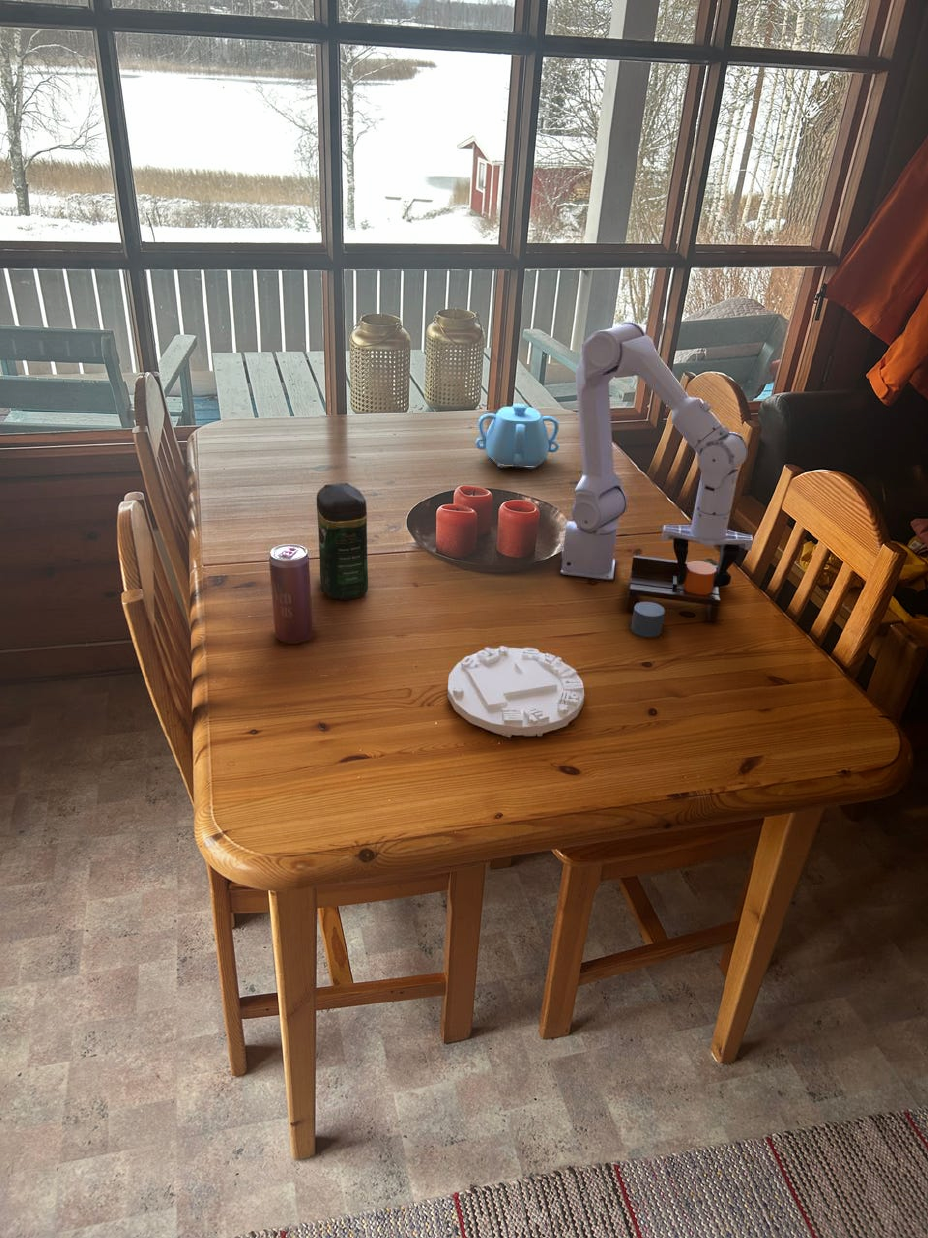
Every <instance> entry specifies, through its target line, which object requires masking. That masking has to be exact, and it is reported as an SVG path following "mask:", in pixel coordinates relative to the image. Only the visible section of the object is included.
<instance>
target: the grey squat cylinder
mask: <svg viewBox="0 0 928 1238" xmlns="http://www.w3.org/2000/svg"><path fill="white" fill-rule="evenodd" d="M665 613H666V609H665V608H664V607H663V605H661V604H658V603H656V602H653V601H640V602H637V603H635V606H634V612H633V613H632V619H631V626H630V629H631V632H633V634H635V635H637V636H639V637H643V638H657V637H659V636H660V635H661V634H662V630H663V624H664V620H665Z"/></svg>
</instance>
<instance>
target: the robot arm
mask: <svg viewBox="0 0 928 1238" xmlns="http://www.w3.org/2000/svg"><path fill="white" fill-rule="evenodd" d="M617 374H619V375H621V374H622V375H628V376H629V375H630V376H636V377H639V378H640V379H641V380H642V381H643V382H644V383H645V385H647V386H648V388H649V389H650V390H651V391H652V392H653V393H654V394H655V395H656V396H657V397H658V398H659V399H660V400H661V401H662V402H663V403H664V405H665V406H667V408H668V409H669V410H670V411H671V424H672V425H673V426H674V428H675V429H676V430H677V431H678V432H679V434H680V435H681V436H682V438H684V440H685V441H686V442H687V443H688V445H689V446H690V447H691V448H692V449H693V450H694V452H695V453H696V454H697V456H696V463H697V466H698V469H699V470H700V478H699V482H698V486H697V487H698V488H697V492H696V493H697V494H696V499H695V504H694V509H693V515H692V521H691V524H686V525H684V524H681V525H666V524H664V525H663V528H662V533H661V540H662V541H669V540H673V541H672V548H673V552H674V555H675V558H676V561H677V562H678V567H679V581H680V582H683V579H684V570H685V563H686V562H687V558H688V553H689V543H697V544H698V543H699V544H701V546H704V547H709V548H710V547H711V548H712V547H715V546H721V547H720V553H719V560H718V563H717V564H718V567H717V571H716V576H715V581H714V582H715V586H719V584H720V582H721V580H722V578H723V576H724V574H725V572H726V571H727V572H728V569H729V568H730V567H731V566H732V564H733V563H734V562H735V561H736V560H738V557H739V555H740V548H741V549H743V550H744V551H752V548H753V544H754V537H753V534H747V533H742V532H738V531H733V530H731V529H728V525H729V520H730V516H731V511H732V506H733V501H734V496H735V492H736V487H737V481H738V476H739V471H740V470H739V468H740V467H741V466H742V465H743V464H744V463H745V462H746V460H747V459H748V455H749V449H748V445H747V442H746V441H745V439H744V437H743V436H742V435H741V434H739V433H737V432H735V431H731V430H730V429H729V428H728V426H724V425H723V424H722V422H721V421H720V420H719V419H718V418H717V416H716V415H715V414H714V413H713V412H712V410H711V409H712V406H711V404H710V403H709V402H708V401H704V400H702V399H701V398H699V397H691V396H689V394H688V393H687V391H685V389H684V388H683V386H682V384H681V383H680V382H679V381H678V379H677V378H676V377H675V375H674V374H673V373H672V371H671V369H670V368H669V367H668V366H667V364H666V362H664V360H663V358H662V357H661V356H660V355H659V353H658V351H657V350H656V347H655V343H654V341H653V339H652V338H651V337H650V336H649V335H648V334H646V332H645V330H644V328H643V327H642V326H641V325H639V324H637V323H636V322H634V321H633V322H632V321H627V322H624V323H621V324H619V325H616V326H613V327H610V328H606V329H601V330H596V331H594V332H593V333H592V334H590V336H588V338H587V339H586V340H585V341H584V342H583V343H582V344H581V357H580V360H579V362H578V365H577V368H576V371H575V387H576V388H575V389H576V402H577V414H578V415H577V416H578V430H579V438H580V439H579V443H580V444H579V445H580V456H581V457H580V458H581V469H582V470H581V471H582V476H581V478H580V480H579V482H578V483H577V485H576V487H575V489H574V500H573V504H572V507H571V516H572V520H573V521H570V520H569V521H567V523H566V527H565V532H564V533H565V534H564V542H563V548H562V549H561V558H560V559H561V570H560V574H561V575H565V576H574V577H582V578H588V579H596V580H603V581H604V580H606V581H612V580H614V572H615V564H616V560H615V559H614V557H615V549H616V541H617V534H618V526H619V521H620V517H621V516H622V515H624V514H625V513H626V511H627V508H628V502H629V501H628V497H627V494H626V492H625V490H624V487H623V480H622V478H621V477H620V476H619V475H618V474H617V473H616V472H615V468H614V451H613V436H612V417H611V403H610V402H611V401H610V387H609V385H610V384H609V383H610V382H611V380H612V379H613V378H615V376H616V375H617Z"/></svg>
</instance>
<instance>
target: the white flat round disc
mask: <svg viewBox="0 0 928 1238" xmlns="http://www.w3.org/2000/svg"><path fill="white" fill-rule="evenodd" d="M447 680H448V683H447V699H448V700H449V702H450V705H451V706H452V708H453V710H454V711H455V712H456V713H457V714H458V715H460V716H461V717H462V718H464V719H465V720H466V721H467V722H468V723H470V724H472V725H475V726H477V727H480V728H482V729H484V730H487V731H489V732H492V733H493V734H496V735H501V736H503V737H506V738H508V739H509V738H511V737H512V736H523V737H536V736H537V737H543V734H546V733H549V732H552V731H556V730H559V729H561V728H564V727H567V726H569V723H570V722H571V721H573V720H574V719H576V718H577V717H578V715H579V713H580V711H581V709H582V707H583V705H584V701H585V690H584V683H583V680H582V679H581V678H580V676H579V675H578V671H577V670H576V669H574V668H573V667H571V666H570V665H569V664H566V663H565V662H563V661H562V657H559V656H557V657H556V655H553V654H551V653H548V652H546V653H543V652H542V651H540V650H539V649H537V648H533V647H523V648H518V647H507V646H504V645H500V646H499V647H498V648H493V647H491V648H490V647H488V646H487V647H484V649H481V650H479V651H477V652H476V653H472V654H471V655H466V656H465V657H463V659H461V660H460V661H458V662H457V663H456V665H455V666H454V667H453V668H452V670H451V671H450V673H449V674H448V679H447Z"/></svg>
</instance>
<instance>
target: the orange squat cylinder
mask: <svg viewBox="0 0 928 1238" xmlns="http://www.w3.org/2000/svg"><path fill="white" fill-rule="evenodd" d="M688 562H689V563H688V564H687V566H686V572H685V577H684V583H683V588H684V589H685V590H686V591H688V592H690V593H692V594H696V595H707V594H710V593H711V592H712V590H713V586H714V581H715V576H716V571H717V569H716V567H715V566H714V565H712V564H710V563H708V562H704V561H694V560H693V561H688Z"/></svg>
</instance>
